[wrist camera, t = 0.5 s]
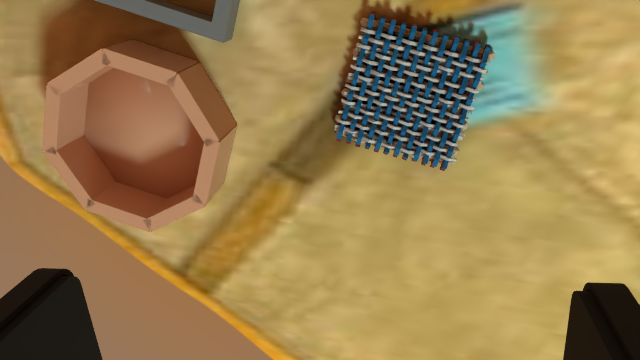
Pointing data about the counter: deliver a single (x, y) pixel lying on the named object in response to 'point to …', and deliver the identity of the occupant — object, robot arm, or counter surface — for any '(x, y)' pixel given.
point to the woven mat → (411, 91)
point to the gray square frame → (186, 16)
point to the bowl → (138, 134)
